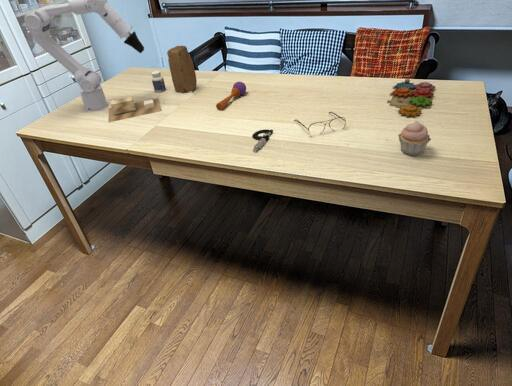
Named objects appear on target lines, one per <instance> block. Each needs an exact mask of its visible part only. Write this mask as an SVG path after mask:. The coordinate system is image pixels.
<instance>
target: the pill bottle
mask: <svg viewBox="0 0 512 386" xmlns="http://www.w3.org/2000/svg"><path fill="white" fill-rule="evenodd" d="M151 76H152V77H151V82H152V86H153V89H154V92H155V93H164V92H166V91H167V88H166V83H165V79H164V76H163V75H161V71H160V70H154V71H152V72H151Z"/></svg>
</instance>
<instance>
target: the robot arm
mask: <svg viewBox="0 0 512 386" xmlns="http://www.w3.org/2000/svg"><path fill="white" fill-rule="evenodd" d="M69 13H72V14H74V15H76V16H79V15H85V14H90V13H95V14H97V15H99V17H100V18H101V19H102V20H103V21H104V22H105V23H106V24H107V25H108V26H109V27H110V28H111V30H113V32H114V33H116V35H118V37H119V38H120V39H121V40H122V39H123V38H125V40H124V41H123V43H124V44H125V45H128V46H129V47H131V48H132V49H134V50H135V51H137V52H138V53H139V54H142V53H143V52H144V51H145V47H144V44H142V42H141V41H140V39H139V38H138V36H137V32H136V31H135V30H133V32H130V31H132V29H133V28H134V25H131V26H130V25H129V24H128V23H127V22H126V21H125V20H124V18H122V16H120V14H119V13H118V12H117V11H116V10H115V8H113V7H112V6H111V5H110V3H108V0H69V2H67V3H59V4H52V5H51V4H50V5H47V6H43V7H41V8H37V9H36V10H34V11H32V12H28V13H26V14H25V15H24V18H23V19H24V27H25V29H26V30H28V31H29V32H30V34H31V36H32V38H33V39H34V41H35V43H36V44H37V45H38V46H40V47H41V48H42V49H43V50H44V51H45V52H46V53H48V54H49V55H50V56H51V57H52V58H53V59H54V60H55V61H57V62H58V63H59V64H61V65H62V67H64V68H65V70H67V71H68V72H69V73H71V74H72V75H73V77H74V80H75V83H77V84H78V86H79V87H80V89H81V90H82V91H81V92H80V97H81V101H82V103H83V106H84V108H85V111H86V112H87V113H90V112H93V111H101V110H104V109H106V108H108V106H109V105H108V101H107V99H106V95H105V93H104V90H103V87H102V86H101V82H102V77H101V76H100V74H99V73H98V72H97V71H93V70H92V69H90V68H89V67H87V66H83V64H81V63H80V62H79V61H78V60H77V59H75V58H74V57H73V56H72V55H71V54H70V53H69V52H68V51H67V50H66V49H64V47H62V46H61V45H60V44H59V43H57V41H56V40H54V39H53V38H52V37H51V33H50V32H51V31H50V29H51V23H52V19H53V18H54V17H55V16H59V15H64V14H69Z"/></svg>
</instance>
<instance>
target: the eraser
mask: <svg viewBox="0 0 512 386" xmlns="http://www.w3.org/2000/svg"><path fill="white" fill-rule="evenodd" d="M151 99H152V100H150V99H146V100H147V101H145V100H143V101H144V106H145V109H147V108H152V107H155V106H154V102H153V99H154V98H151Z"/></svg>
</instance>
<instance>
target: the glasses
mask: <svg viewBox="0 0 512 386" xmlns="http://www.w3.org/2000/svg"><path fill="white" fill-rule="evenodd" d="M330 113H331V114H333V115H334V116H336V118H333V119H329V120H324V121H318V122H316V121H315V122H314V123H311V124H309V125H308V128H307V126H306V125H304V124H303V123H302V122H300V121H299V120H298V119H294V120H293V121H294V122H295V121H296V122H297V123H299V124H300V125H301V126H302V127H304V128H305V129H306V130H308V133H309V135H311V134H310V133H311V132H310V127H311V126H312V125H315V124H319V123H322V124H324V128H323V130H322V131H321V132H320V133H319V135H321V134H322V133H323V132H324V131H325V129H326V125H327V122H328V121H329V122H328V127H329V128H330V129H331V130H332V131H336V130H334V129H332V127H331V125H330V124H331V122H332V121H334V120H337V119H340V120H342V121H343V122H345V123H344V126H343V127H342V130H344V129H345V126H346V123H347V122H346V118H345V117H343V116H339V115H338V114H337V113H335V112H333V111H329V112H328V114H330ZM325 122H326V123H325Z"/></svg>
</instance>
